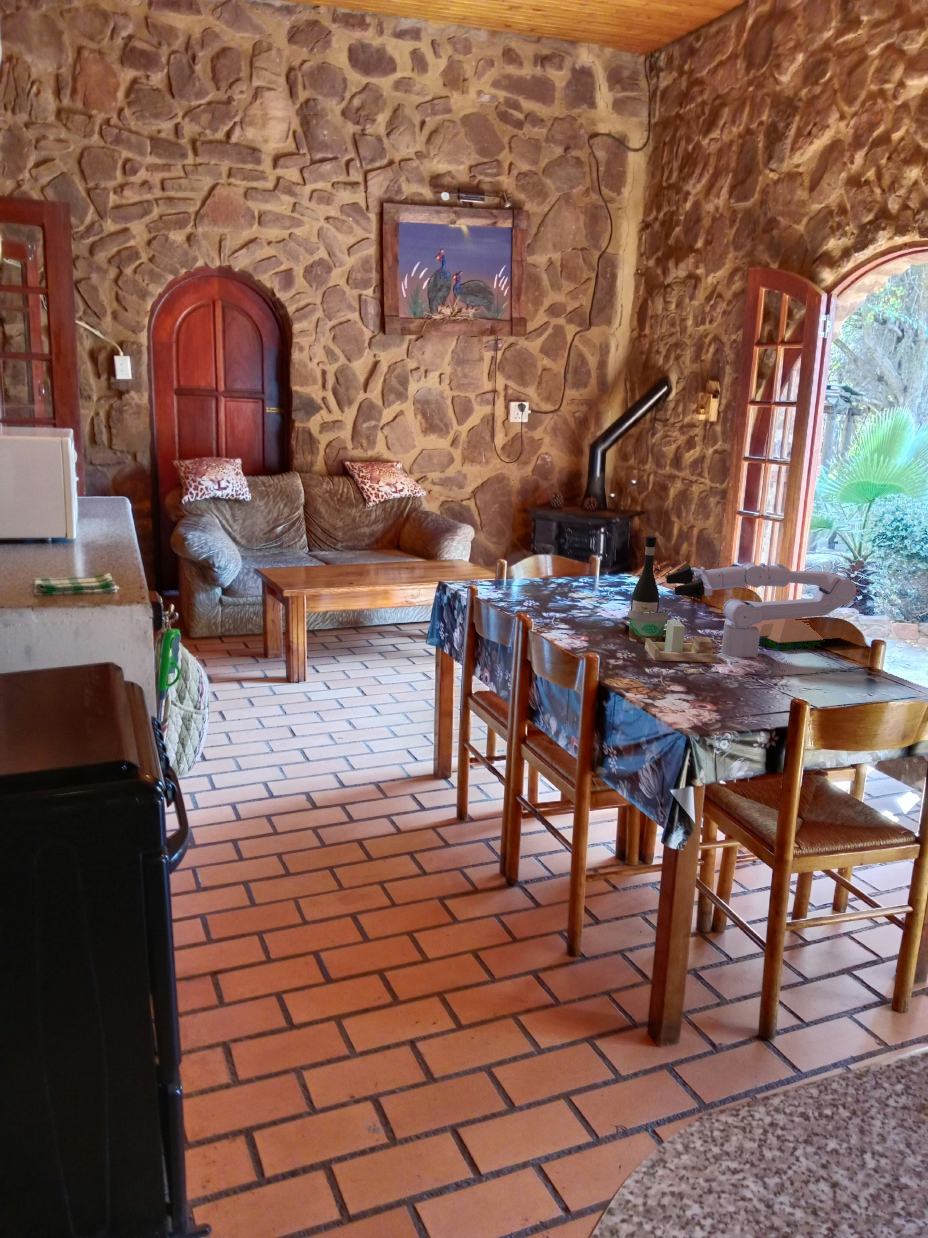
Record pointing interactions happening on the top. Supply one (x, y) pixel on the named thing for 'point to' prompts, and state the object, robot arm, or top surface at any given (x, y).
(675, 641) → the pale green block
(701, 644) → the offcut upper
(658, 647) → the rack
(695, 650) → the offcut lower
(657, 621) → the food container
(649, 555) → the wine bottle
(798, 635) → the house
